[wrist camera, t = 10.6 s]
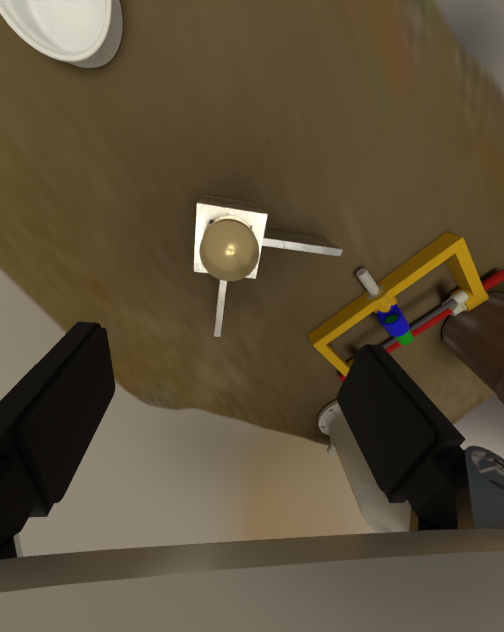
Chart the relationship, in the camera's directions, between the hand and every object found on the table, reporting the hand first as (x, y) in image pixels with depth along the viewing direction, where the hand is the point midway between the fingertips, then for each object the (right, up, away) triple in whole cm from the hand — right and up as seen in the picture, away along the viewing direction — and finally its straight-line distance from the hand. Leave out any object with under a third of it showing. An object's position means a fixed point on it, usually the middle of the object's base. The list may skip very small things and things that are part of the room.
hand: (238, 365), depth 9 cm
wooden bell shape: (-2, +13, +21) cm, 25 cm away
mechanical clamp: (+23, +5, +31) cm, 39 cm away
